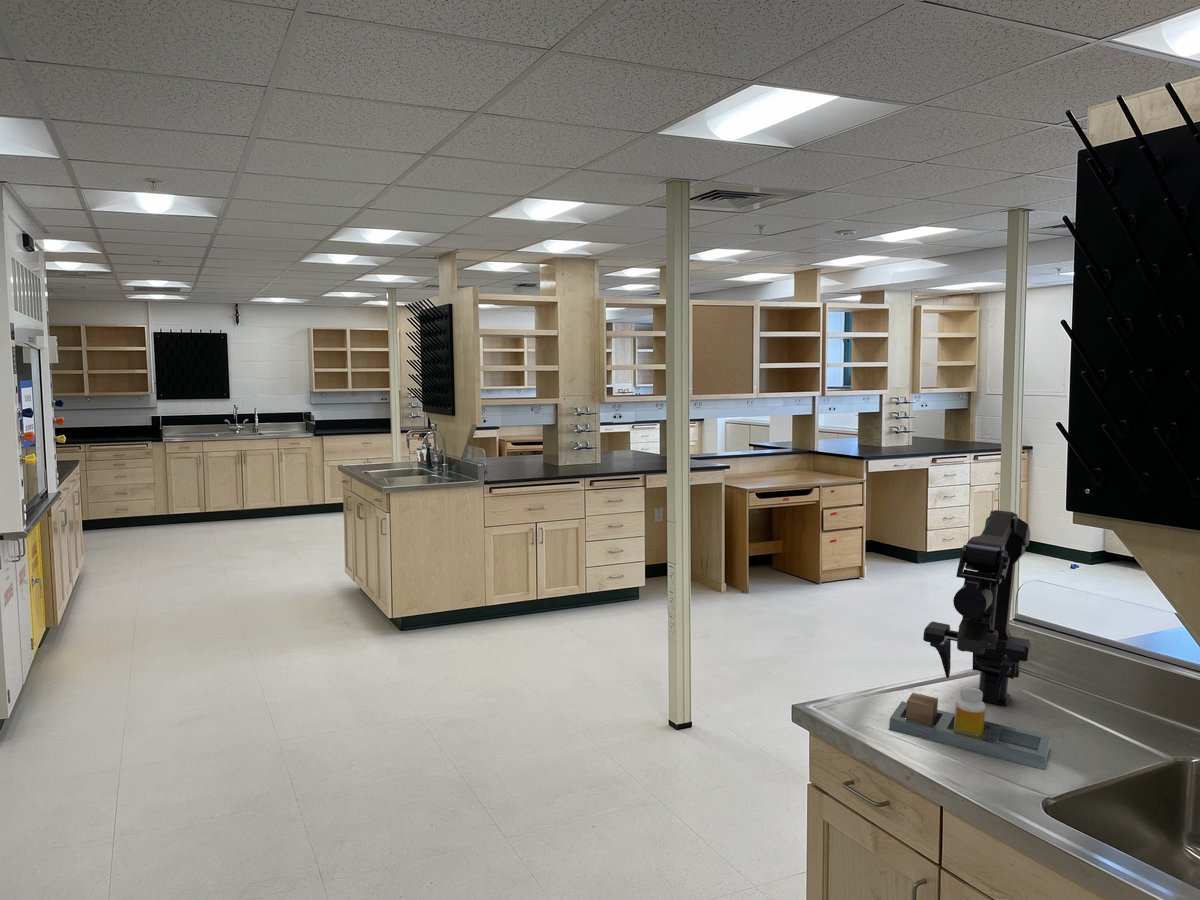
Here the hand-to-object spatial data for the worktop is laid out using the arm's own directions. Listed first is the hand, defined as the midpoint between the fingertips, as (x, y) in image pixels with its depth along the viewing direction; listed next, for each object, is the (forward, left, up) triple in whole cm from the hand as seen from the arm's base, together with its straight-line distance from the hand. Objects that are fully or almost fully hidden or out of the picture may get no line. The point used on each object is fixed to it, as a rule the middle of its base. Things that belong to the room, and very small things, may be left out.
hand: (972, 682), depth 169 cm
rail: (0, 0, -12) cm, 12 cm away
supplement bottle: (0, 0, -12) cm, 12 cm away
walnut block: (0, -9, -12) cm, 15 cm away
